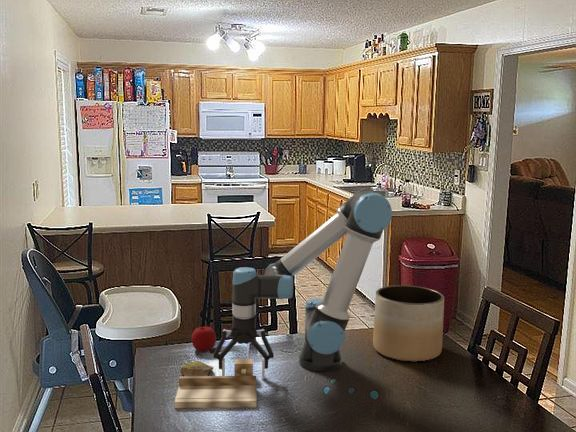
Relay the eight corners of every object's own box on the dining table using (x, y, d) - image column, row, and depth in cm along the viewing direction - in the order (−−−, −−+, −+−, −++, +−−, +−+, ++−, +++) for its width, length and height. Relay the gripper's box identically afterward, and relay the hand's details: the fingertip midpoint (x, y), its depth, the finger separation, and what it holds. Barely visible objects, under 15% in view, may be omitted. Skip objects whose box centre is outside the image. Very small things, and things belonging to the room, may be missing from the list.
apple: (214, 354, 210) (214, 328, 208) (189, 354, 210) (189, 328, 208) (217, 345, 219) (217, 320, 218) (193, 344, 219) (193, 319, 218)
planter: (440, 342, 227) (443, 287, 224) (442, 367, 203) (446, 307, 199) (375, 335, 233) (377, 282, 229) (369, 359, 208) (372, 300, 205)
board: (255, 389, 183) (256, 375, 183) (256, 407, 171) (256, 392, 171) (179, 389, 182) (179, 376, 181) (174, 408, 170) (174, 393, 169)
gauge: (252, 375, 193) (252, 358, 192) (252, 387, 185) (253, 369, 184) (234, 376, 193) (234, 358, 192) (233, 387, 184) (234, 369, 183)
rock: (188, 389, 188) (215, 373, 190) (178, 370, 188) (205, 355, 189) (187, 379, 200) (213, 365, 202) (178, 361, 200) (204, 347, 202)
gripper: (281, 311, 192) (279, 372, 195) (206, 311, 190) (206, 373, 194) (282, 319, 185) (281, 382, 188) (205, 319, 183) (205, 383, 186)
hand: (243, 377), depth 191 cm, fingers open, 12 cm apart
